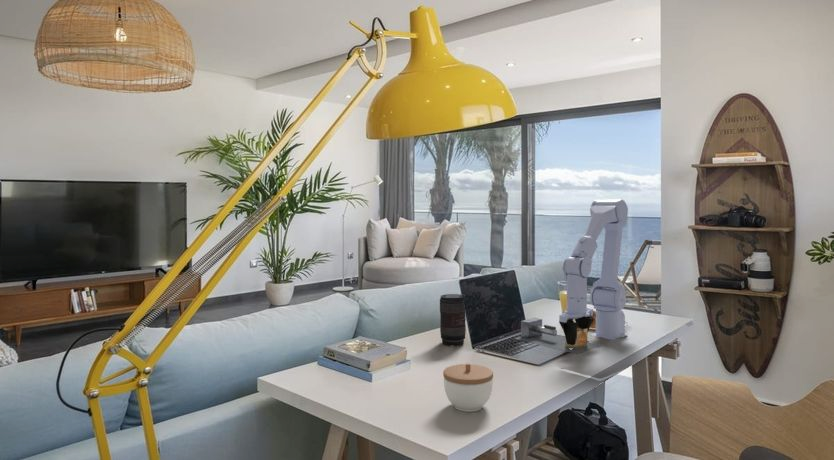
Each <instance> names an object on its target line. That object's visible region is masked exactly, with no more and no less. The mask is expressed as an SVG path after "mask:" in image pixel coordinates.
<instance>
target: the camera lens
mask: <svg viewBox="0 0 834 460" xmlns="http://www.w3.org/2000/svg"><path fill="white" fill-rule="evenodd" d="M462 295H463V294H460V293H459V294H458V293H449V294H448V293H447V294H442V295H440V299H439V313H440V317H439V318H440V320H439V321H440V322H439V323H440V324H439V325H440V326H439V327H440V328H439V329H440V339H441V342H442V344H443V345H445V346H447V347H448V346H449V347H457V346H458V347H459V346H463V345H464V343H465V339H466V334H467V333H466V331H467V328H466V313H465V307H464V303H465V302H463V298H464V297H462ZM464 301H465V300H464Z"/></svg>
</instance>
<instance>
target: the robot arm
mask: <svg viewBox="0 0 834 460" xmlns="http://www.w3.org/2000/svg"><path fill="white" fill-rule="evenodd" d="M589 209H590V211H589V213H590V221H589V223H588V226H587V229H586V232H585V235H584V236H581V237H579V238H578V240H577V242H576V245H575V247H574V248H573V251H572V253H571V255H570V256H568V257H567V258H565V259H564V262H563V265H562V271H563V274H564V280H565V282H566V310H565V311H564V312H563V313H562V314H559V315H558V316H559V317H558V318H559V320H558V323H559V325H560V326H561V328H562V330H563V333H564V337H565V338H566V342H567V344H570V345H574V343H575V335H576V330H577V327H578V326H579V327H584V328H588V329H587V335H588V333H589V331H590V327H591V325H592V324H593V323H594V317H593V315H594V309H595V332H594V333H591V334H590V336H593V337H598V338H603V339H608V340H616V339H619V338H625V337H627V336H628V333H626V332H625V331H626V328H625V327H626V326H625V325H626V315H625V313H624V311H623V309H624V307H625V306H626V303H627V295H626V286H625V285H624V284H623V283H622V282H621V281H620V280H618V279H619V268H620V267H619V265H620V258H621V257H620V256H621V245H622V236H623V228H625V227H627V222H628V214H629V208H628V206H627V202H626V201H625V200H624V199H622V198H620V199H594V200H593V201H592V203H591V204H590V208H589ZM603 229H604V230H605V233H604V243H603V254H602V264H601V272H600V278H599V279H598V280H596V281H594V282H593V283H592V288H591V291H590V295H589V301H590V304H591V306H592V307H593V308H588V307H587V306H588V305H587V304H588V303H587V302H588V300H587V299H588V298H587V297H588V296H587V295H588V293H587V291H588V290H587V289H588V277H589V275H590V274H591V271H592V264H593V257H594V255H595V252H596V251H597V249H598V243H597V240H598V238H599V236H600V234H601V233H602V231H603Z"/></svg>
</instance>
